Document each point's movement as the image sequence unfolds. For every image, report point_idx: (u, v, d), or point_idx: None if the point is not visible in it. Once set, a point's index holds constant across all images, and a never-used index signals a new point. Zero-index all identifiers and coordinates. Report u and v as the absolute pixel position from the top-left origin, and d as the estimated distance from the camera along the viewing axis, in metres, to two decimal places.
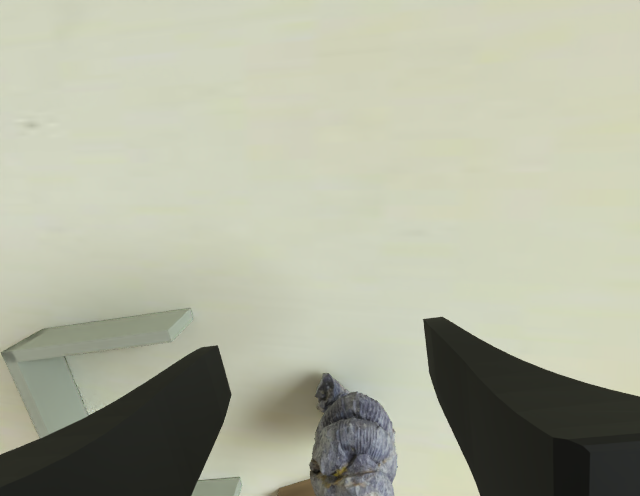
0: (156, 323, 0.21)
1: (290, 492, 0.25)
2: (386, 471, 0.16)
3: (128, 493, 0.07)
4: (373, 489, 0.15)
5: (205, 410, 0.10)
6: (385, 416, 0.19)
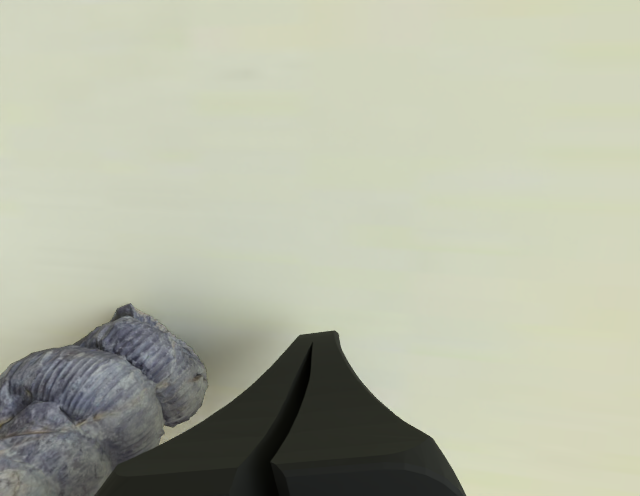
0: None
1: None
2: (102, 437, 0.09)
3: None
4: (16, 465, 0.07)
5: None
6: (165, 353, 0.11)
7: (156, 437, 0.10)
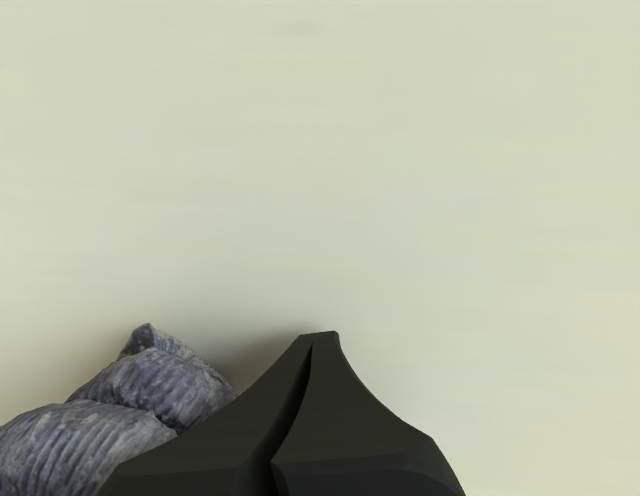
0: None
1: None
2: None
3: None
4: None
5: None
6: (204, 399, 0.08)
7: None
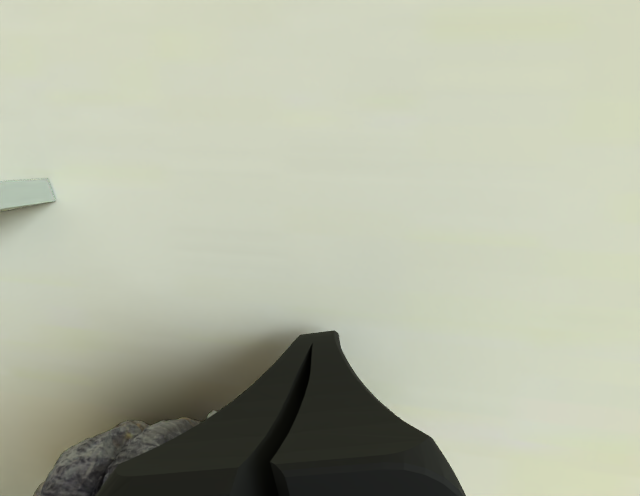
0: None
1: None
2: None
3: None
4: None
5: None
6: None
7: None
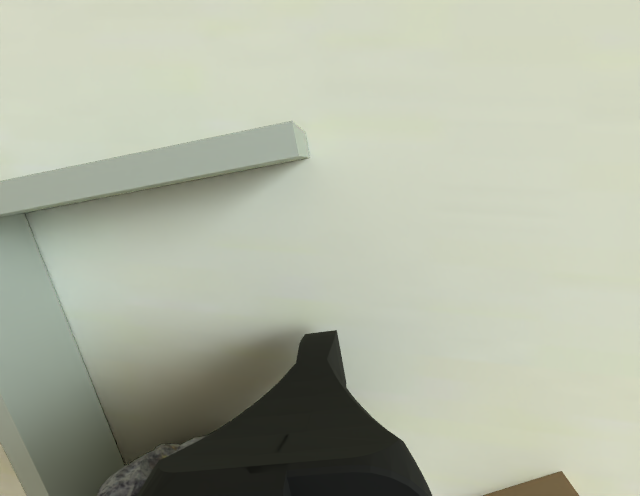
0: None
1: None
2: None
3: None
4: None
5: None
6: None
7: None
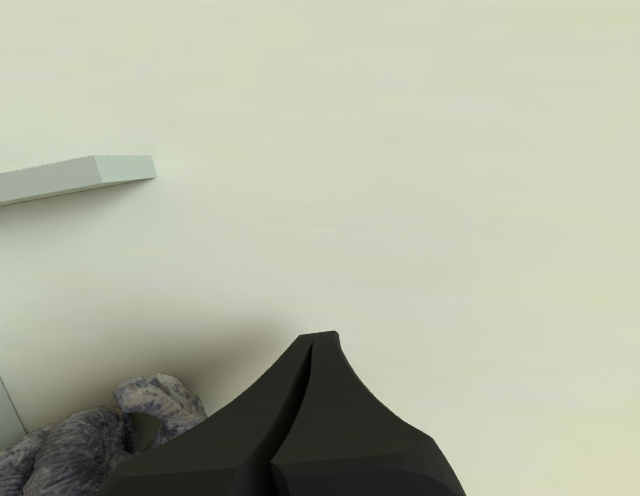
0: None
1: None
2: None
3: None
4: None
5: None
6: None
7: None
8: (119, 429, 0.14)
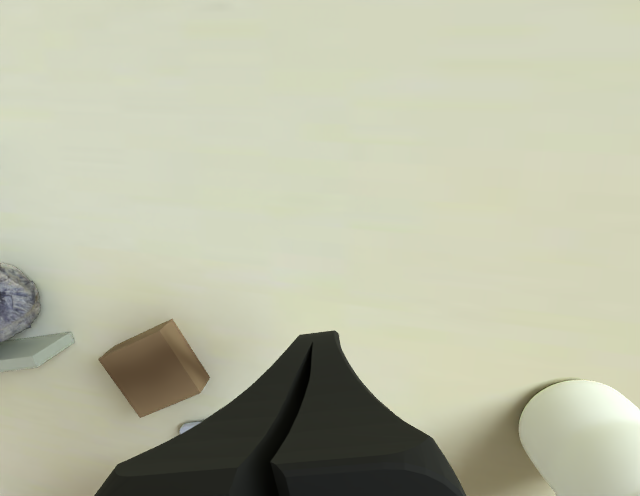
0: None
1: (121, 345, 0.23)
2: None
3: None
4: None
5: None
6: None
7: None
8: None
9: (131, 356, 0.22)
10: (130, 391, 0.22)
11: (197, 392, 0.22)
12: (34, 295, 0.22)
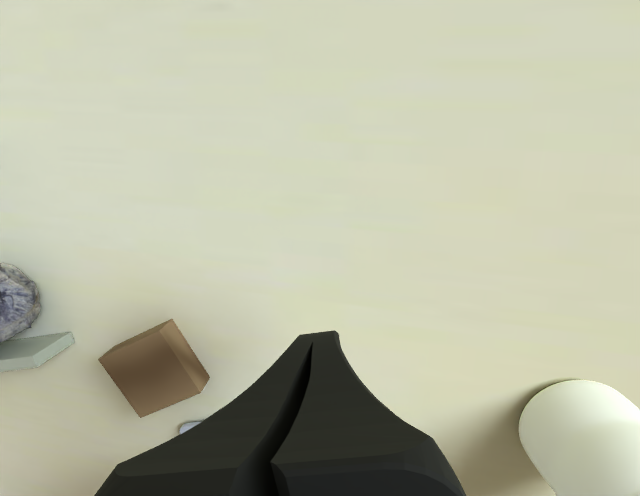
0: None
1: (121, 345, 0.23)
2: None
3: None
4: None
5: None
6: None
7: None
8: None
9: (131, 356, 0.22)
10: (131, 391, 0.22)
11: (197, 392, 0.22)
12: (34, 295, 0.22)
